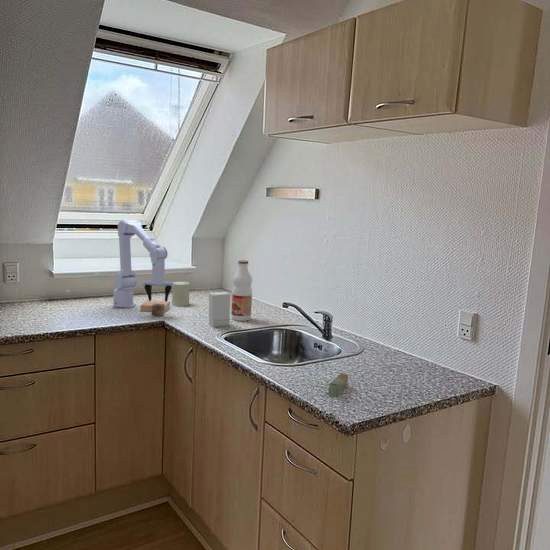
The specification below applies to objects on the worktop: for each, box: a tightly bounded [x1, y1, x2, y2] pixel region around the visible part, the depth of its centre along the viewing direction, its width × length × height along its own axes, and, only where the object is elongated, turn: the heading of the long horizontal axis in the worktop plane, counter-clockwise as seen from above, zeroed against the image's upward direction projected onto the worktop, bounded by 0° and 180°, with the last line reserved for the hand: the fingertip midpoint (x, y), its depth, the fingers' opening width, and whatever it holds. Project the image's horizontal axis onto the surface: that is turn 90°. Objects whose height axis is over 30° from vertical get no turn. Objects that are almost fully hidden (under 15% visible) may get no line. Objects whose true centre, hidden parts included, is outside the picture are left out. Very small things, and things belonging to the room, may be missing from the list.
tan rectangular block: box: [139, 300, 171, 313], centre depth 261 cm, size 12×12×3 cm
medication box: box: [328, 372, 349, 398], centre depth 160 cm, size 12×3×4 cm, turn 157°
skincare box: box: [208, 291, 231, 328], centre depth 234 cm, size 8×6×15 cm
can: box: [171, 281, 191, 307], centre depth 275 cm, size 9×9×12 cm
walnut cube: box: [150, 304, 165, 317], centre depth 249 cm, size 5×5×5 cm
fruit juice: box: [230, 259, 253, 322], centre depth 247 cm, size 9×9×28 cm
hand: (158, 300), depth 249 cm, fingers open, 7 cm apart
